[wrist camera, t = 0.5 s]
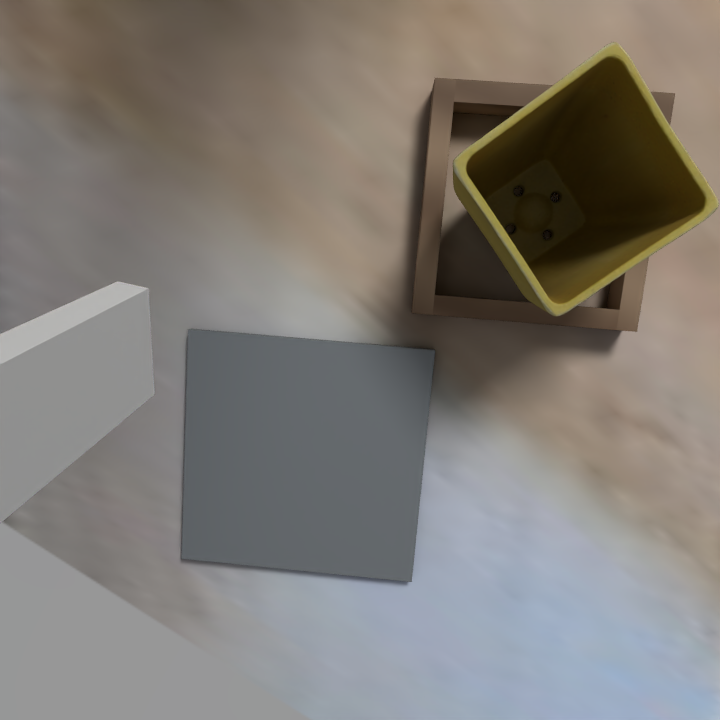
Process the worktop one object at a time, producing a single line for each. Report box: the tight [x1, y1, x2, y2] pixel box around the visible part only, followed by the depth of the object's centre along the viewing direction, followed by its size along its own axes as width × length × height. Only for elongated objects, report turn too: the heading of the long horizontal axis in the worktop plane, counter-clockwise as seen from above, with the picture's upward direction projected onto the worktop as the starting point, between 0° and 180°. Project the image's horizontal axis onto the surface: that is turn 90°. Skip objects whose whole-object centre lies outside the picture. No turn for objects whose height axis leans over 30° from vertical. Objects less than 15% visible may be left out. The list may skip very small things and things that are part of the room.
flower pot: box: [453, 42, 719, 316], centre depth 27 cm, size 9×9×9 cm
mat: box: [182, 329, 435, 582], centre depth 34 cm, size 16×16×1 cm
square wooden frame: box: [411, 78, 675, 332], centre depth 31 cm, size 13×13×2 cm
